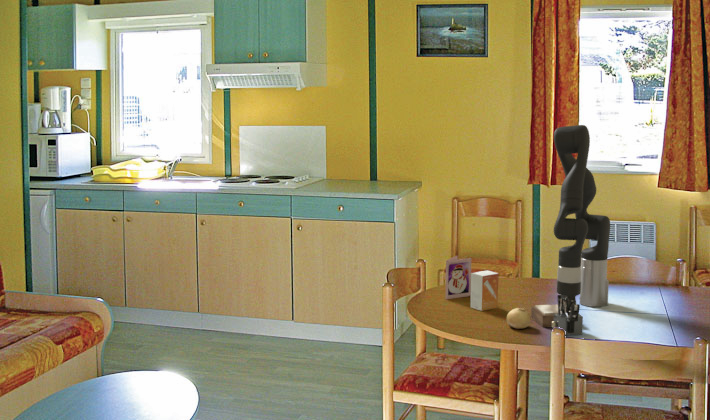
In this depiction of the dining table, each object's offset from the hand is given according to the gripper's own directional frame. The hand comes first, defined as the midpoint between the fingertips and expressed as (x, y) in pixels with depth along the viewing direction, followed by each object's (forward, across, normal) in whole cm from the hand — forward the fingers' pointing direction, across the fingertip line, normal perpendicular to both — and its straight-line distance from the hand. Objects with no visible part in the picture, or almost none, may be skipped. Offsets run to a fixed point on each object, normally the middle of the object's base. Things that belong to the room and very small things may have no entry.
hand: (567, 329), depth 262 cm
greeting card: (+1, +51, +26) cm, 57 cm away
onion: (+1, +8, +14) cm, 16 cm away
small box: (+1, +33, +19) cm, 38 cm away
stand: (+1, +13, 0) cm, 13 cm away
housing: (+1, 0, 0) cm, 1 cm away
